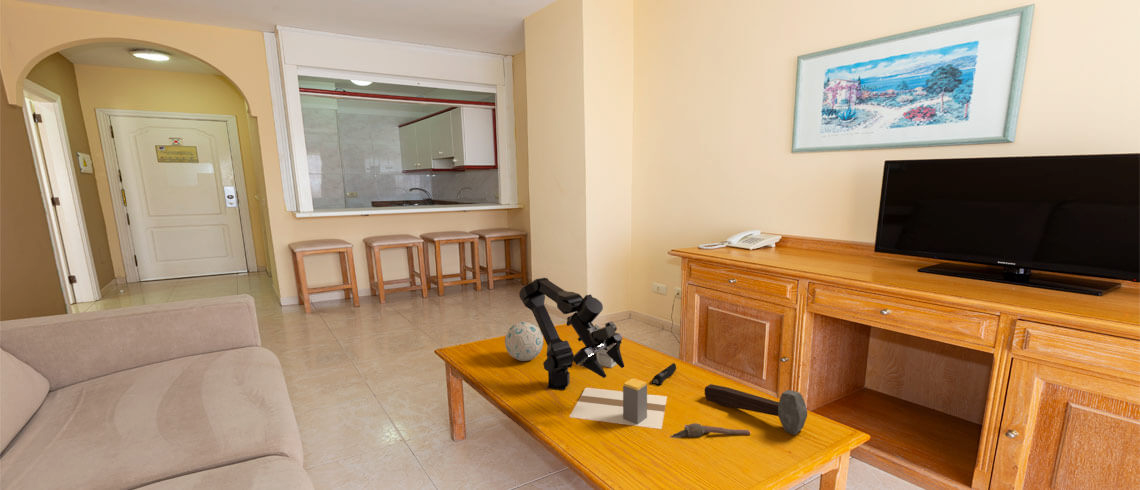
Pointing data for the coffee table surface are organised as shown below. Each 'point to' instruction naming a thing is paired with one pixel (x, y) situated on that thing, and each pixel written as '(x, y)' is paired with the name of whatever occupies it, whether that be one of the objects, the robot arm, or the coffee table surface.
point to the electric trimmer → (663, 375)
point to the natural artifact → (705, 431)
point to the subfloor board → (616, 408)
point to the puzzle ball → (524, 341)
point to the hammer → (763, 405)
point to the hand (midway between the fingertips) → (614, 372)
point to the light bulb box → (605, 359)
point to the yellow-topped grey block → (635, 401)
